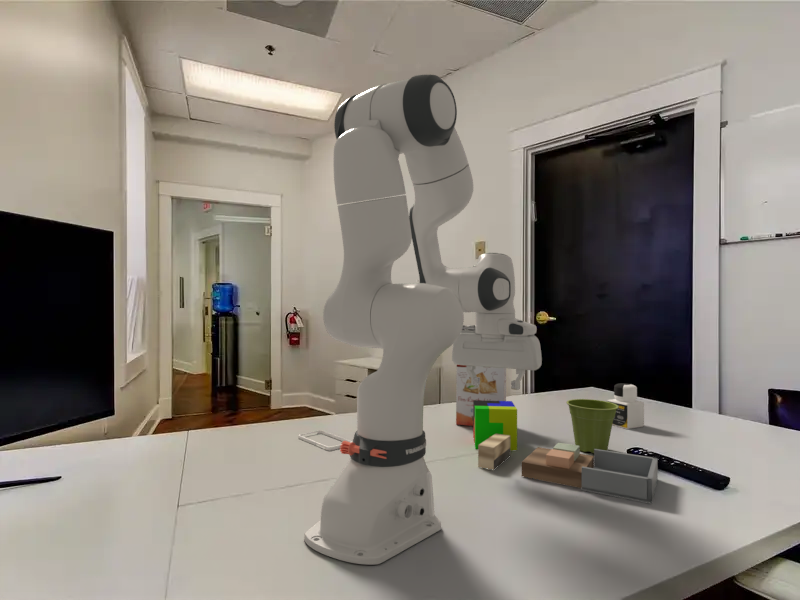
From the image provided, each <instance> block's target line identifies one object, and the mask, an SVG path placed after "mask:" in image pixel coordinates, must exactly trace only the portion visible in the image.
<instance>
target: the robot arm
mask: <svg viewBox="0 0 800 600" xmlns="http://www.w3.org/2000/svg"><path fill="white" fill-rule="evenodd" d="M456 102H457V101H456V99H455V96H454V93H453V91H452V89H451V87H450V86H449V84H448V83H447V82H446V81H444V79H442V78H441V77H440V76H438V75H436V74H418V75H417V74H416V75H414V76H412V77H411V78H408V79H402V80H398V81H394V82H389V83H383V84H379V85H376V86H375V87H372V88H369V89H367V90H365V91H363V92H361V93H360V94H359V93H358V94H354V95H351V96H350V97H349V98H347V99H345V100H344V101H343V102H342V103H341V104H340V105H339V106H338V108H337V110H336V113H335V114H334V115H335V117H334V123H333V125H334V126H333V127H334V134H335V135H334V136H335V139H336V141H335V143H334V145H333V146H334V147H333V181H334V182H333V183H334V190H335V198H336V204H337V211H338V218H339V223H340V230H341V236H342V246H343V264H342V270H341V274H340V278H339V280H338V283H337V285H336V287H335V288H334V290H333V291H332V293H330V295H329V296H328V297H327V299H326V301H325V304H324V307H323V312H322V313H323V316H322V318H323V324H324V328H325V330H326V331H327V333H328V335H329V336H330V337H331V338H332V339H333V340H335V341H338V342H341V343H342V344H346V345H350V346H352V347H356V348H365V349H366V348H368V349H369V348H370V349H382V350H383V354H382V359H381V362H380V364H379V367H378V368H377V370H376V371H374V372H372V373H370V374H368V375H367V376H366V377H365V378H364V379H363V380H361V382H360V384H359V385H358V388H357V391H356V393H357V394H356V397H357V399H356V406H357V407H356V431H355V432H354V434H353V435H354V436H353V439H352V442H351V443H350V442H348V441H343V442H342V441H341V443H340V444H342V445H340V447H341V448H339V452H341V454H342V455H349V457H350V458H349V461H348V462H347V463H346V465H345V466H344V468H343V469H342V470H341V472H340V473H339V475H338V477H337V478H336V479H335V481H334V482H333V484H332V485H331V486H330V488H329V489H328V491H327V492H326V494H325V495H324V497H323V499H322V504H321V511H320V519H319V520H318V521H317V522H315V524H314V525H312V526H311V527H310V528H309V529H307V530H306V531H305V533H304V537H303V538H304V539H303V540H304V541H305V544H307V546H308V547H310V548H311V549H313V550H314V551H316V552H318V553H320V554H322V555H325V556H327V557H330V558H333V559H335V560H336V559H337V560H339V561H343V562H347V563H351V564H358V565H380V564H382V563H384V562H386V561H387V560H390V559H391V558H393V557H395V556H396V555H398V554H400V553H402V552H403V551H406V550H407V549H409V548H411V547H413V546H414V545H415V544H418V543H420V542H421V541H423V540H425V539H426V538H428V537H430V536H432V535H434V534H436V533H437V532H439V531H440V530H442V522H441V520H440V519H439V517H437V516H436V513H435V511H436V510H435V502H434V500H435V499H434V487H433V476H432V473H431V471H430V470H429V468H428V466H427V464H426V461H425V455H426V454H427V453H426V452H427V449H426V446H427V439H426V432H425V430H424V403H425V402H424V401H425V389H426V385H427V380H428V377H429V375H430V372H431V371H432V368H433V366H434V364H435V363H436V361H437V360H438V359H439V357H440V356H441V355H442V354H443V353H444V352H445V351H446V350H447V349H449V348H451V347H452V353H451V361H452V362H453V364H454V365H456V366H457V365H467V372H468V374H469V376H470V377H471V385H473V386H478V385H480V377H477V376H476V374H475V372H474V370H475V369H476V366H482V367H495V368H506V369H508V370H515V374H516V375H517V376H516V378H515V380H511V381H510V385H511V386H510V389H511V390H516V391H518V390H520V388H521V381H522V380H523V377H524V376H525V374H526V371H537V370H539V369H540V368H541V366H542V364H543V363H542V361H543V357H542V350H541V343H540V340H539V338H538V337H537V336H536V335H535V334H537V330H538V329H537V326H536V324H533V323H530V322H527V321H524V320H522V319H519V318H516V310H515V307H514V299H515V297H516V296H515V295H516V279H515V269H514V264H513V260H512V258H511V257H510V256H509V255H507V254H504V253H498V252H487V253H486V252H485V253H482V254H480V255H479V256H478V257H477V263H476V264H474V265H473V266H468V267H455V268H454V267H447V266H446V265H444V264H443V262H442V257H441V251H440V250H441V249H440V245H439V244H440V243H439V239H438V229H439V227H441V226H442V225H444V224H446V223H447V222H449V221H451V220H453V219H454V218H455V217H456V216H457V215H459V214H460V213H461V212H462V211H463V210H464V209H466V207H467V206H468V204H469V203H470V201H471V199H472V197H473V193H474V179H473V176H472V170H471V167H470V164H469V161H468V157H467V154H466V152H465V151H466V150H465V149H464V146H463V143H462V140H461V139H460V136H459V134H458V132H457V130H456V127H455V126H456V123H457V112H458V110H457V103H456ZM401 154H403V155H404V158H405V162H406V166H407V170H408V174H409V177H410V179H411V182H412V187H413V190H414V203H413V204H412V205H411V207H410V209H409V207H408V200H407V194H406V193H407V192H406V187H405V181H404V176H403V173H402V168H401V163H400V161H399V158H400V155H401ZM411 244H412V246H413V251H414V255H415V261H416V266H417V272H418V277H419V282H418V283H416V282H413V283H410V282H409V283H393V282H392V268H393V265H394V263H395V262H396V261H397V260H399V259H400V258H401V257H403V255H405V253H406V252H408V249H409V248H410V246H411ZM465 313H474V315H475V316H474V317H475V318H474V319H475V325H471V324H469V325H464V322H465V321H464V320H465V319H464V318H465V317H464V314H465Z"/></svg>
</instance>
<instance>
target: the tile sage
mask: <svg viewBox="0 0 800 600" xmlns="http://www.w3.org/2000/svg"><path fill="white" fill-rule="evenodd" d="M552 449H554V450H560V451H567V452H573V453H574V461H575V460H576V459H577V458H578V456H579V455H580V454H581V453H580V452H581V450H580V446H578V445H575V444H571V443H563V442H557V443H556V444H555V445H554V446H553V447H552Z"/></svg>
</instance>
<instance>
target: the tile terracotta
mask: <svg viewBox="0 0 800 600" xmlns="http://www.w3.org/2000/svg"><path fill="white" fill-rule="evenodd" d="M550 449H551V450H550V451H549V452H548V453H547V454H546V465H550V466H556V467H562V468H567V469H569V468H570V467H571V466H572V464H573V463H574V453H573V452H567V451H560V450H554V449H553V448H550Z"/></svg>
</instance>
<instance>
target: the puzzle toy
mask: <svg viewBox="0 0 800 600" xmlns="http://www.w3.org/2000/svg"><path fill="white" fill-rule="evenodd" d="M472 428H473V429H472V430H473V432H472V433H473V434H472V435H473V437H472V438H474V439H473V443H475V444H474V448H475V449H474V450H478V445H479V444H481V443H482V442H484V441H485V440H487V439H488V438H490V437H491V436H493V435H494V434H496V433H497V434H503V435H510V451H513V450H517V451H518V409H517V407H516V405H515V404H514V402H513V401H512V400H506V401H479V400H473V426H472Z"/></svg>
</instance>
